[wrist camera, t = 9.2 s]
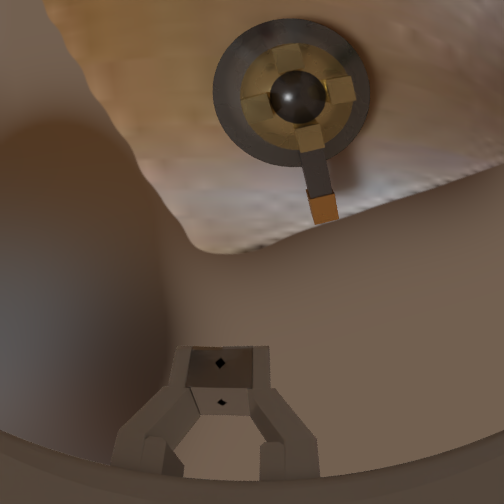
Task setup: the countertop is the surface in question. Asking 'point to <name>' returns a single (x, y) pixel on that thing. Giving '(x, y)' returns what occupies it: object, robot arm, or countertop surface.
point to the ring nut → (300, 111)
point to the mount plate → (253, 46)
